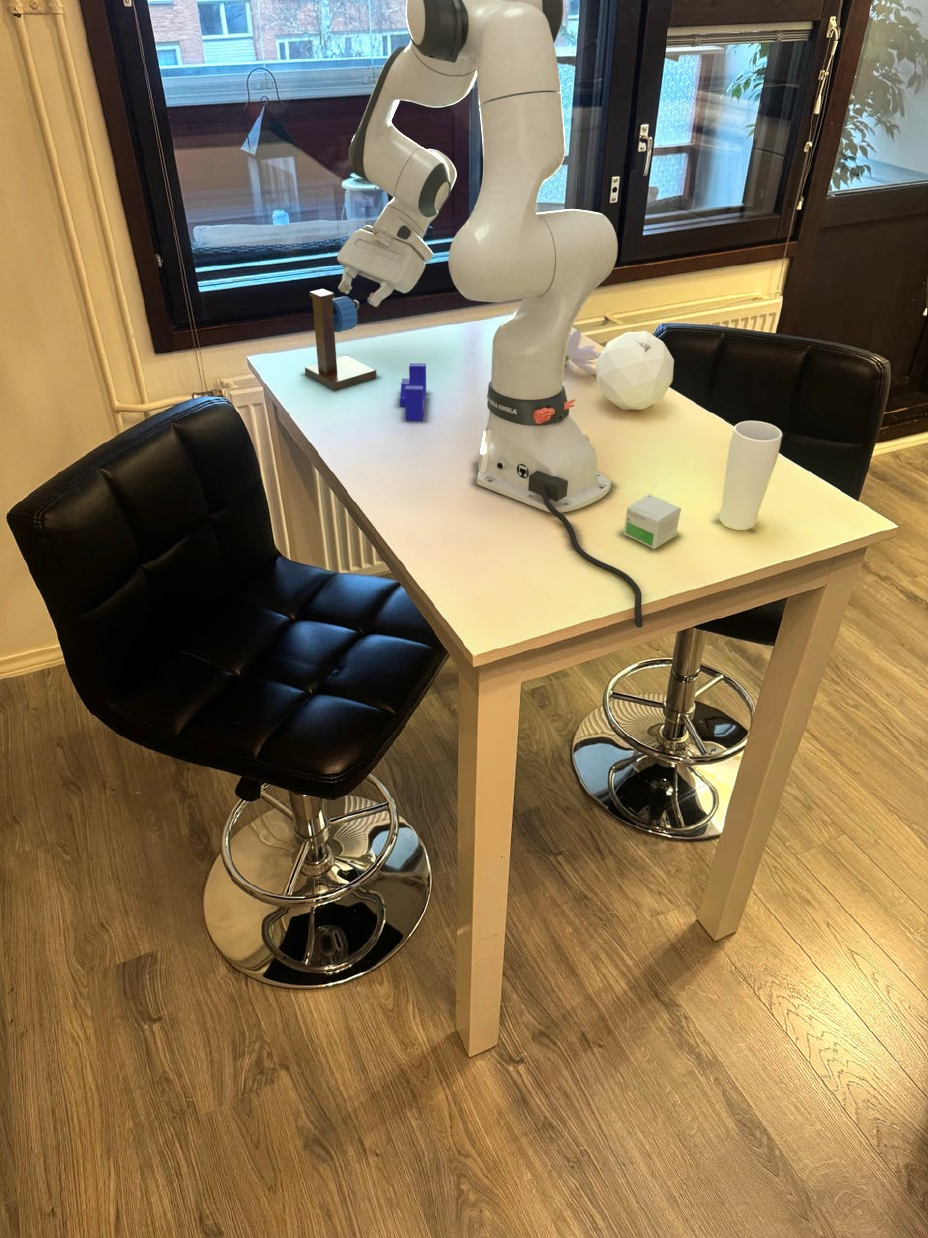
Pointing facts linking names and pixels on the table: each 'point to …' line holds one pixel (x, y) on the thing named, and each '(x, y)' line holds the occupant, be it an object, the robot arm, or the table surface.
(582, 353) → the water lily
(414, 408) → the cable clip
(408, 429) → the table surface
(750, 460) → the drinking glass
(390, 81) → the robot arm
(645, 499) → the small box
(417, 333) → the table surface
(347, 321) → the fluted cylinder
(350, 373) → the hook stand
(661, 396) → the geodesic sphere
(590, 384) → the table surface
